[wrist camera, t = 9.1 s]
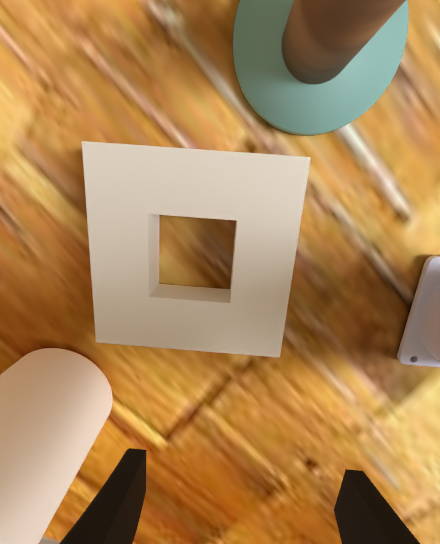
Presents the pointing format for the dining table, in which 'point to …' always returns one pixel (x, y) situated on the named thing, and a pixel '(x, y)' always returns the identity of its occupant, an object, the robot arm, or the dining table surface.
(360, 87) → the teal pad
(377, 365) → the dining table surface
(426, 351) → the robot arm
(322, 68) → the walnut dowel
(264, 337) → the block
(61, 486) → the beverage can
